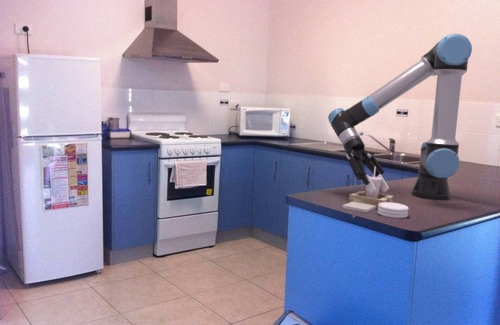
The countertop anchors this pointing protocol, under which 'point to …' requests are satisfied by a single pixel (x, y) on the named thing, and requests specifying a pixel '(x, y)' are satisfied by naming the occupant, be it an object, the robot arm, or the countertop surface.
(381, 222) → the countertop surface
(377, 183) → the smoothie
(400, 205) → the coaster
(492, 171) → the countertop surface
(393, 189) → the countertop surface
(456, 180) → the countertop surface
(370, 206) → the tile
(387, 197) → the square wooden frame
